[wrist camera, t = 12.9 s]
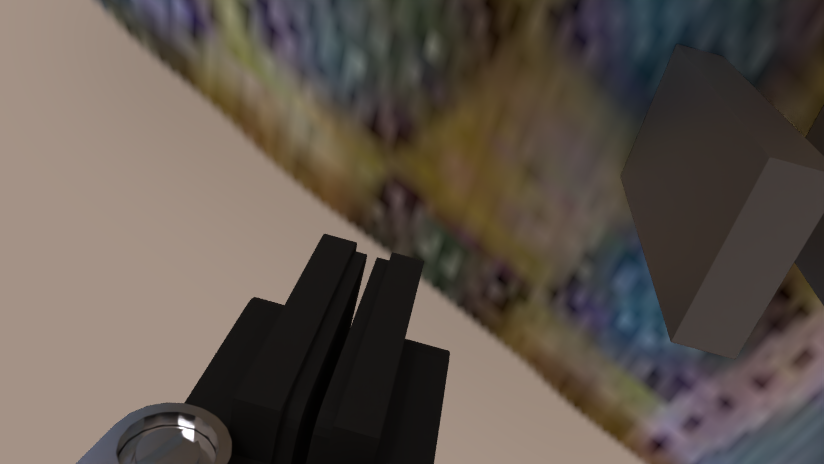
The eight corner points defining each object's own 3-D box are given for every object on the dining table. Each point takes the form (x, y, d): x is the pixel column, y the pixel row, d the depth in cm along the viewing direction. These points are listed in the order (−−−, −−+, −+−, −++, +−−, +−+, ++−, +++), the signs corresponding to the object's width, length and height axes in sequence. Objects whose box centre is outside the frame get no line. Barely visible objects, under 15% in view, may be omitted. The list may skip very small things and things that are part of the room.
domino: (620, 176, 25) (670, 341, 17) (676, 43, 23) (769, 157, 14) (662, 187, 25) (734, 359, 17) (722, 56, 23) (845, 177, 14)
